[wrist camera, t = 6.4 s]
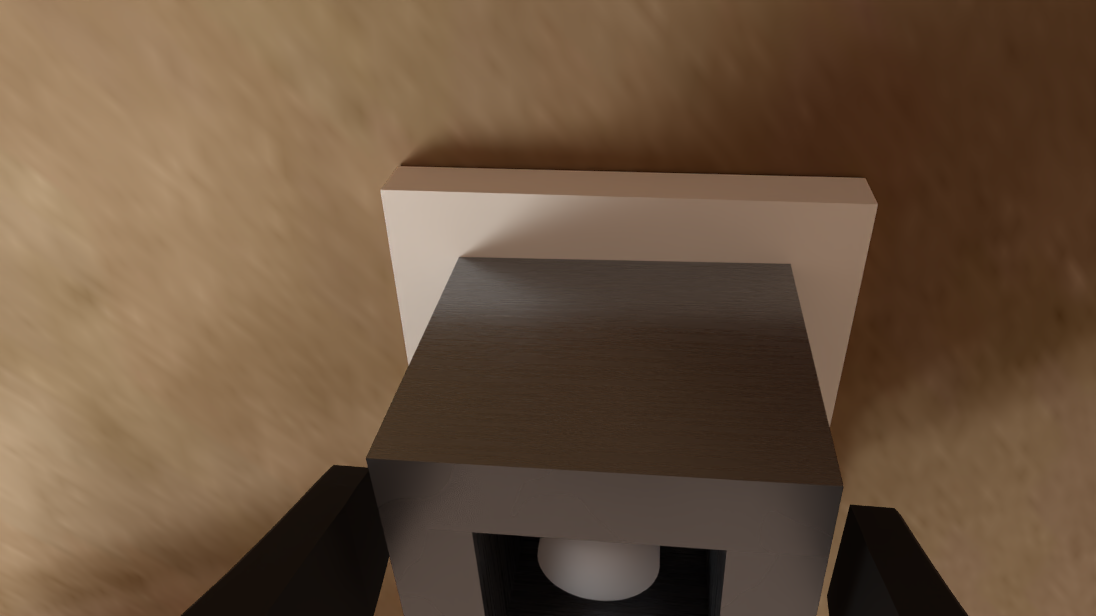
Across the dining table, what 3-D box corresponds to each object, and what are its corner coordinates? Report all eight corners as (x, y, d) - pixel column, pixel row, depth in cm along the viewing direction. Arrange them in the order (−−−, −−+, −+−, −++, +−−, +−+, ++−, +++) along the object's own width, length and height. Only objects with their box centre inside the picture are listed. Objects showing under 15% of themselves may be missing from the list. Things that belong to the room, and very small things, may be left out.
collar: (758, 503, 16) (787, 751, 12) (488, 486, 17) (427, 714, 13) (790, 264, 13) (843, 486, 9) (458, 256, 14) (365, 458, 10)
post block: (797, 513, 17) (834, 740, 13) (443, 486, 18) (376, 688, 14) (865, 177, 13) (952, 359, 9) (397, 166, 14) (281, 323, 10)
